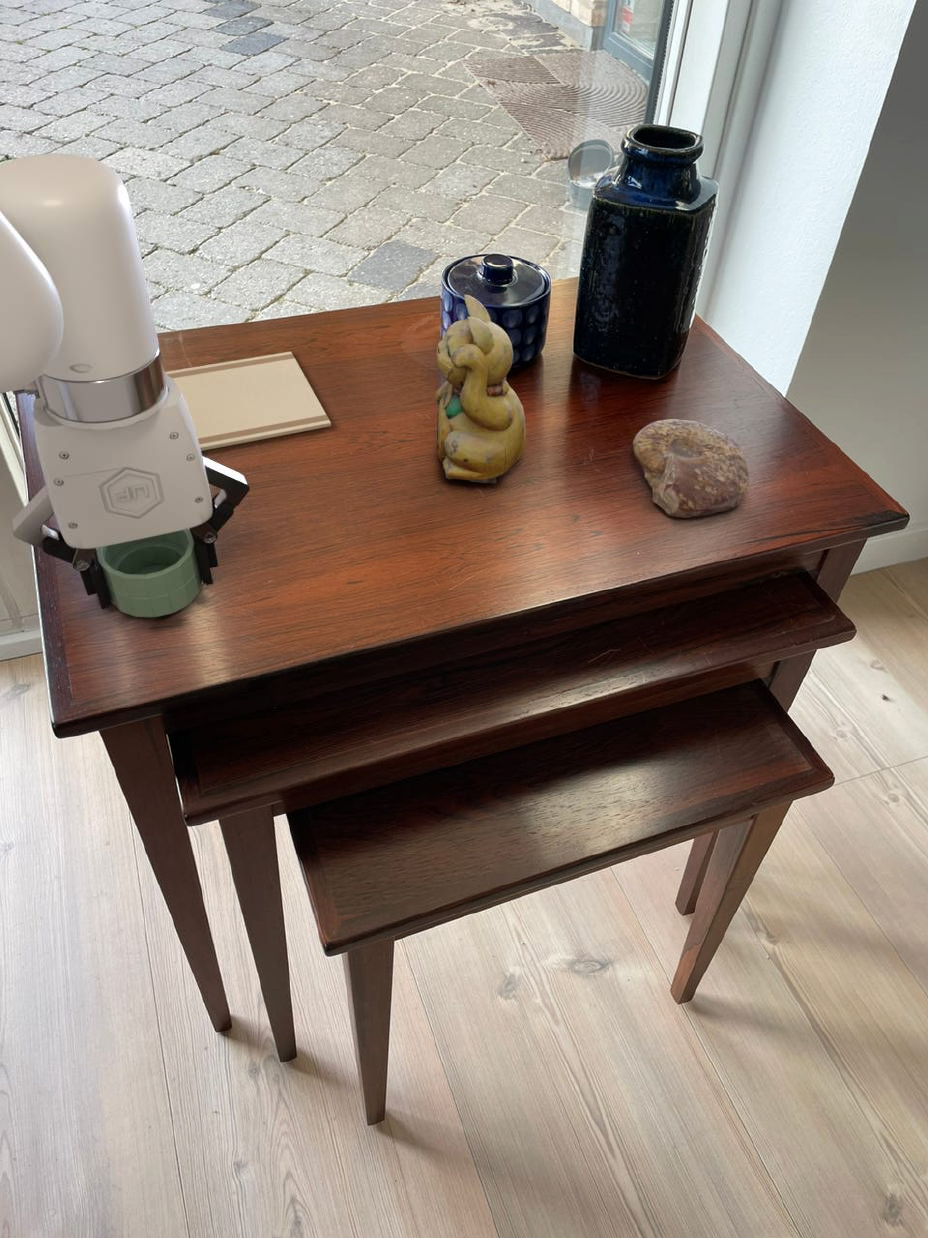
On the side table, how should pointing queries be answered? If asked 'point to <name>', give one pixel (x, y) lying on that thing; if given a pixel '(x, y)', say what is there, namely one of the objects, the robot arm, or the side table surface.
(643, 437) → the fossil
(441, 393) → the decorative figurine
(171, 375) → the cloth
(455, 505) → the side table surface
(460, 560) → the side table surface
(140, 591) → the bowl
